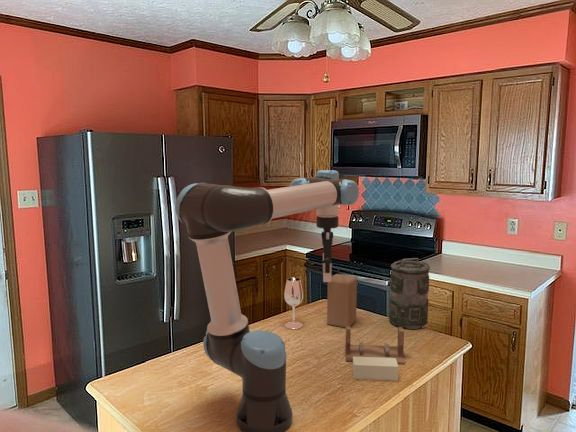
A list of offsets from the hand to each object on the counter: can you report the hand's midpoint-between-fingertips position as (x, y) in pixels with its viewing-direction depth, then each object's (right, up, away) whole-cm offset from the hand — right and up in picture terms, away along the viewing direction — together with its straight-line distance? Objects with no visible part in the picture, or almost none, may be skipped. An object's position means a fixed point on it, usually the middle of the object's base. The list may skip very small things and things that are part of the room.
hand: (326, 276), depth 156 cm
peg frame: (+17, -29, +5) cm, 34 cm away
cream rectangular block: (+15, -31, -10) cm, 36 cm away
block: (+9, -25, +35) cm, 43 cm away
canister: (+37, -25, +35) cm, 57 cm away
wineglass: (-11, -25, +32) cm, 42 cm away
